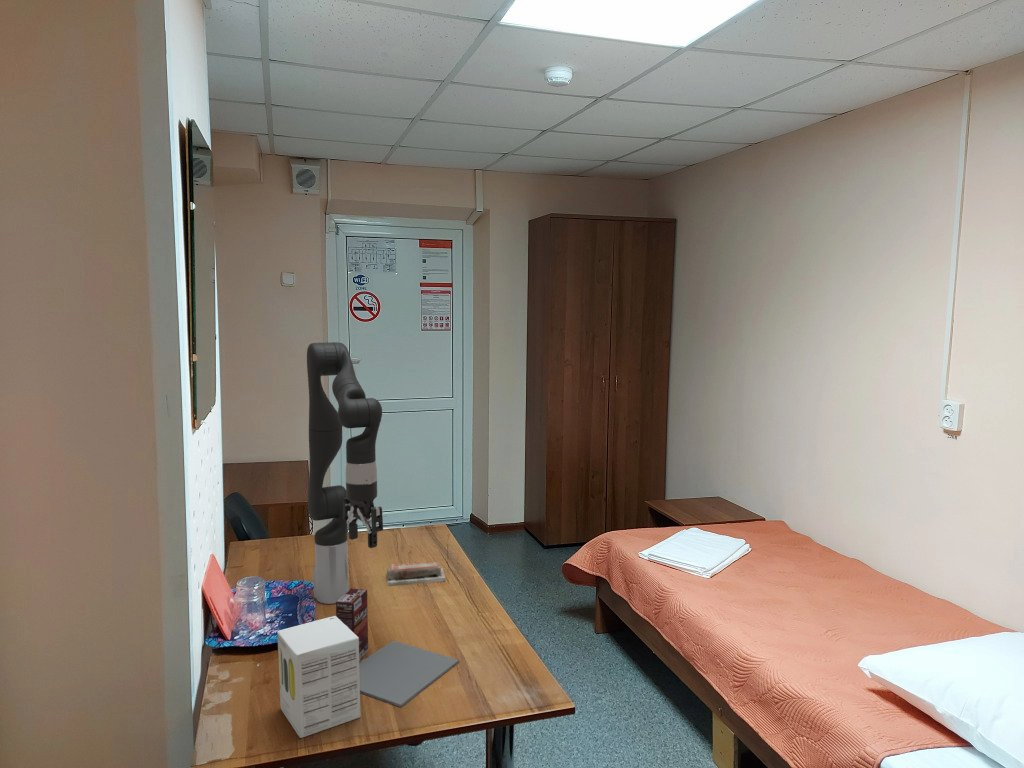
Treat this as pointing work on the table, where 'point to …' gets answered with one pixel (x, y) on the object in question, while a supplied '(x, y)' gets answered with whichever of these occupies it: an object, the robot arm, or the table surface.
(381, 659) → the mat
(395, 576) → the packaged product
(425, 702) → the table surface
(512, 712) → the table surface
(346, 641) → the supplement box
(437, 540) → the table surface
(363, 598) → the supplement box
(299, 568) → the table surface
